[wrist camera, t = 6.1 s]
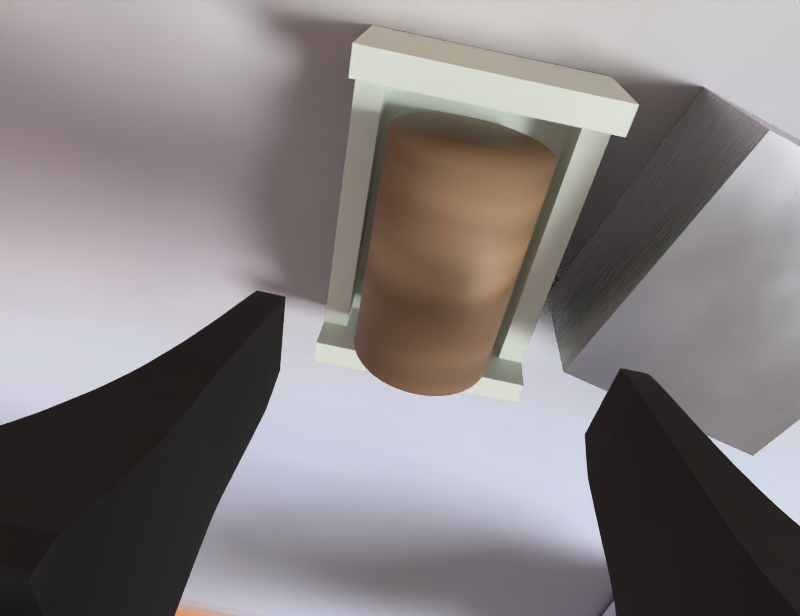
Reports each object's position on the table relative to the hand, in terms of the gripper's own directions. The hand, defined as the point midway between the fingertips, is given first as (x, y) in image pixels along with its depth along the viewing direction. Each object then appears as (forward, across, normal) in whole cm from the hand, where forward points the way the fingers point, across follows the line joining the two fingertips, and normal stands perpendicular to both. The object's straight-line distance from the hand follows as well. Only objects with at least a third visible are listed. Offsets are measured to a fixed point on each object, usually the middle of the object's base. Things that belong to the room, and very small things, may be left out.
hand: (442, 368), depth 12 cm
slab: (+8, -8, -1) cm, 12 cm away
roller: (+7, 0, 0) cm, 7 cm away
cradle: (+8, 0, 0) cm, 8 cm away
